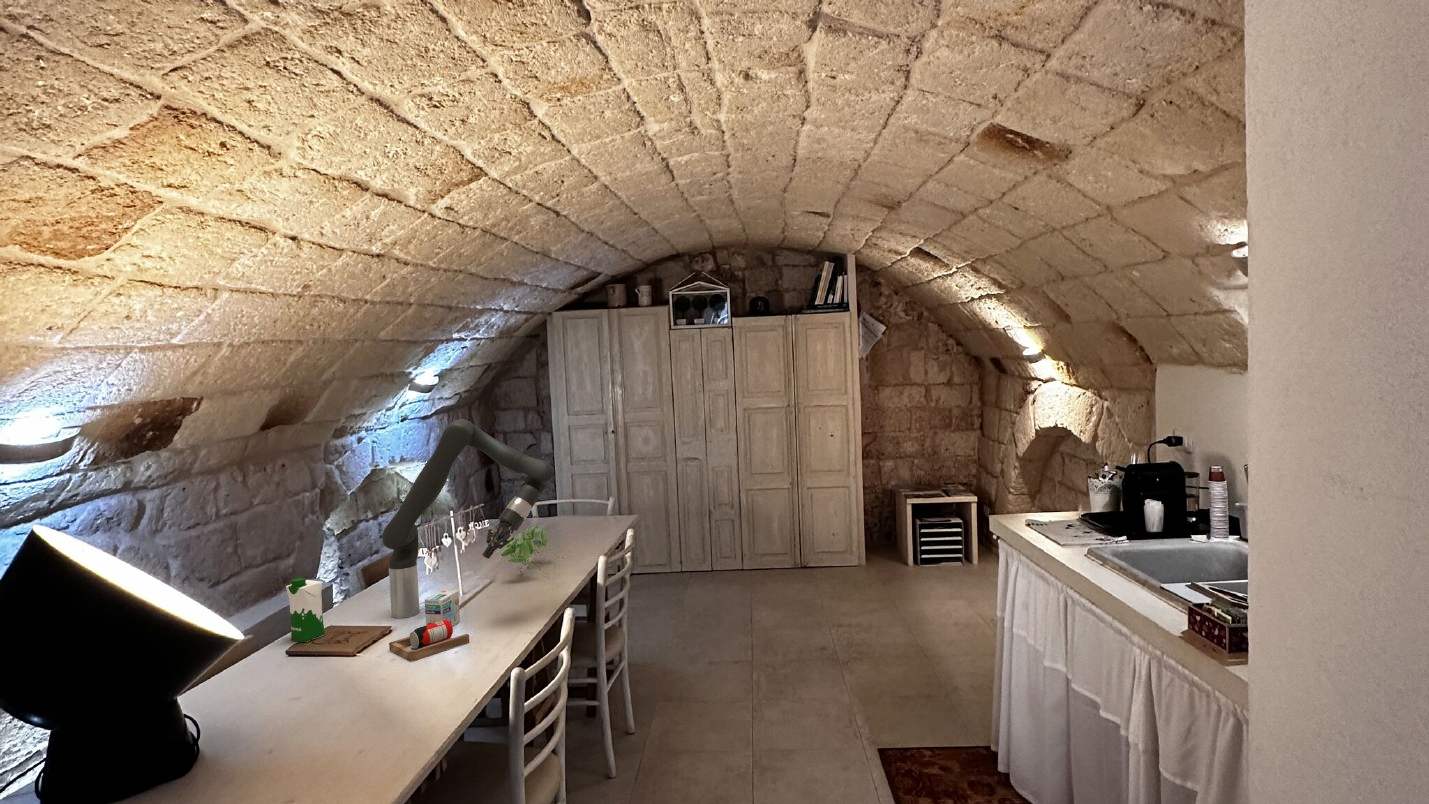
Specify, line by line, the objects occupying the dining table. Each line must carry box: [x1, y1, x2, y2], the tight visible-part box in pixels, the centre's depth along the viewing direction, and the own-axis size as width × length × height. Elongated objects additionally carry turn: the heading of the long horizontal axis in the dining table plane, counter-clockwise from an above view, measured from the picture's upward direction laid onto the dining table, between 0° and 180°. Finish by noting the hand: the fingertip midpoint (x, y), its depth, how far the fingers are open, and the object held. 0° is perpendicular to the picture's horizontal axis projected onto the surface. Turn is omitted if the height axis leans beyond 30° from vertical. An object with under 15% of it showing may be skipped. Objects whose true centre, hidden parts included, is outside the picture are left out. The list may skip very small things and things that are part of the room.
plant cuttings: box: [500, 524, 565, 579], centre depth 316 cm, size 35×17×22 cm
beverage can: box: [409, 620, 454, 649], centre depth 240 cm, size 6×6×12 cm
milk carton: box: [285, 577, 326, 643], centre depth 249 cm, size 9×9×20 cm
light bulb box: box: [424, 589, 461, 627], centre depth 256 cm, size 11×7×11 cm, turn 168°
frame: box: [388, 633, 470, 662], centre depth 238 cm, size 14×19×2 cm
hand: (485, 557), depth 252 cm, fingers closed
